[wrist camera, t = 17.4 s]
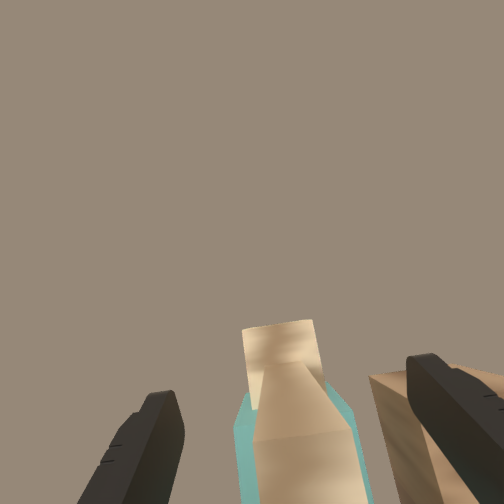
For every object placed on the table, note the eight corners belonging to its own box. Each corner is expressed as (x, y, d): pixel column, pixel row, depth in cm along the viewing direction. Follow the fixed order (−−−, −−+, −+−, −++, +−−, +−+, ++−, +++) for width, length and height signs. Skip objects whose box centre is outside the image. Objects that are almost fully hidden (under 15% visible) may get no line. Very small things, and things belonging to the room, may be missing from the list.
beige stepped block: (317, 383, 24) (304, 319, 25) (438, 552, 6) (373, 318, 8) (256, 392, 24) (247, 328, 26) (214, 578, 7) (196, 345, 8)
